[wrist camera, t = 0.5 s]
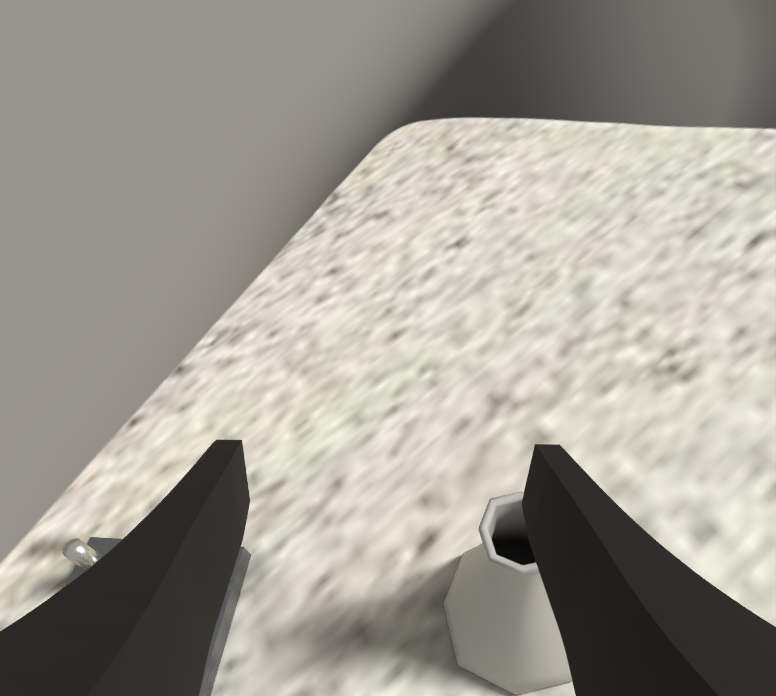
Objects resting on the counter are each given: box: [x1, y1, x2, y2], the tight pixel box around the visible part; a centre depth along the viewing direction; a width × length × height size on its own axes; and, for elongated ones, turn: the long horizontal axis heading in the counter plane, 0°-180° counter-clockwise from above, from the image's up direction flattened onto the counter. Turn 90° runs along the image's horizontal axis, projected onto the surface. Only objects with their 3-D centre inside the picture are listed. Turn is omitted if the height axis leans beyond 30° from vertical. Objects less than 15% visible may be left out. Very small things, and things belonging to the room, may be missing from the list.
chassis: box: [63, 537, 251, 696], centre depth 26 cm, size 14×10×4 cm
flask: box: [443, 492, 572, 695], centre depth 23 cm, size 7×7×10 cm
